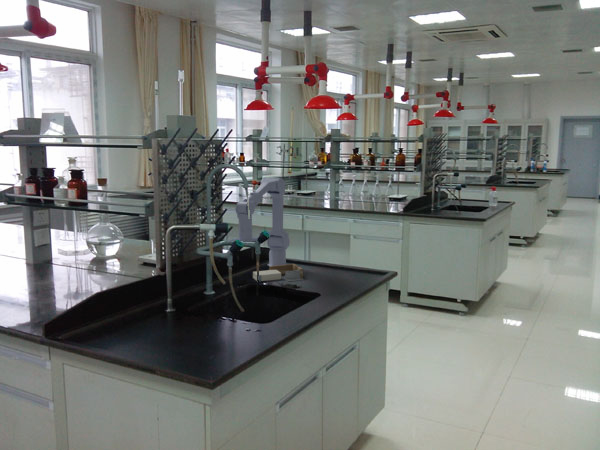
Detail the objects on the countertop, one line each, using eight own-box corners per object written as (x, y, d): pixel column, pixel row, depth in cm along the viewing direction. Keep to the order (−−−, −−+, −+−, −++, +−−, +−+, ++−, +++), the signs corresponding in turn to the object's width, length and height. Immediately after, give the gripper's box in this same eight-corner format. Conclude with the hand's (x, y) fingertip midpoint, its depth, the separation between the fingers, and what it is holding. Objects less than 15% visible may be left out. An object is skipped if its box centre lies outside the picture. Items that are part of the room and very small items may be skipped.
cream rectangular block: (253, 278, 234) (252, 271, 234) (276, 275, 238) (276, 269, 238) (257, 282, 228) (257, 275, 227) (281, 279, 232) (281, 273, 231)
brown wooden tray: (269, 274, 239) (269, 266, 239) (294, 272, 244) (294, 263, 243) (277, 280, 229) (277, 271, 229) (302, 277, 234) (302, 268, 233)
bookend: (285, 279, 231) (285, 271, 231) (299, 277, 234) (299, 269, 233) (288, 281, 228) (288, 273, 227) (303, 279, 230) (303, 272, 230)
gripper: (231, 231, 219) (232, 263, 222) (264, 229, 225) (264, 260, 227) (227, 228, 226) (228, 259, 228) (259, 226, 231) (259, 256, 233)
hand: (246, 259), depth 228 cm, fingers open, 6 cm apart
